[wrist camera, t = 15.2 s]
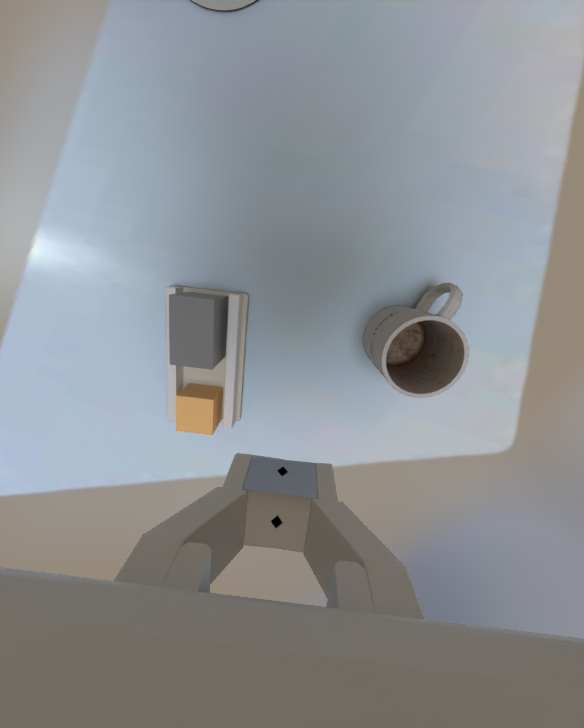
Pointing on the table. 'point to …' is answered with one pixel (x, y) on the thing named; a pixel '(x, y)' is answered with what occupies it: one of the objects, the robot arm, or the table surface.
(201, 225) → the table surface
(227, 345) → the rail
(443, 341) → the mug
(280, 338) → the table surface
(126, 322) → the table surface
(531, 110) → the table surface
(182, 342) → the block
